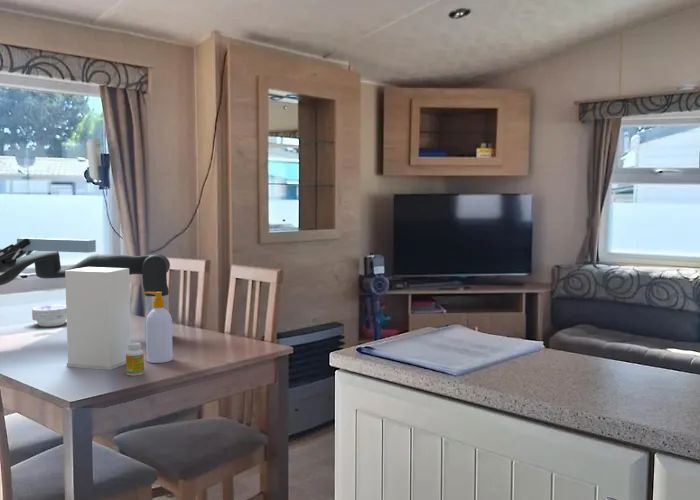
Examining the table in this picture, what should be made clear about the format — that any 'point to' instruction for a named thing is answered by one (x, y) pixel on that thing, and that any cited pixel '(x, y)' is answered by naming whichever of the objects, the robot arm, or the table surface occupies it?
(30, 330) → the table surface
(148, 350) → the soap bottle
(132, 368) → the supplement bottle
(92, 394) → the table surface
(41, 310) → the paper bowls
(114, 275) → the storage box
